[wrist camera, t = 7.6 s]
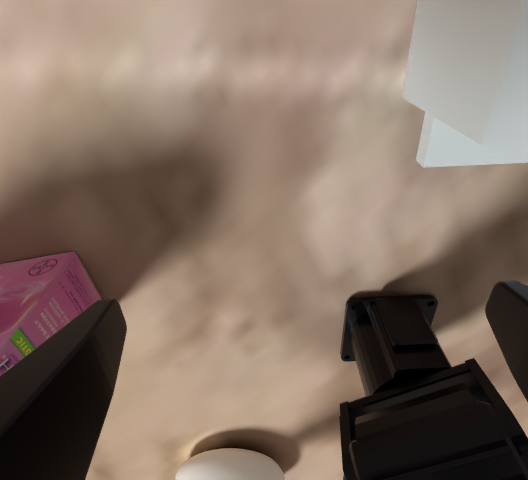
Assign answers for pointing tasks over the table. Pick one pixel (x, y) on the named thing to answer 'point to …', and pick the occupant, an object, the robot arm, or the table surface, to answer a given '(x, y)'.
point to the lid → (470, 81)
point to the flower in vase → (230, 466)
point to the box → (40, 301)
